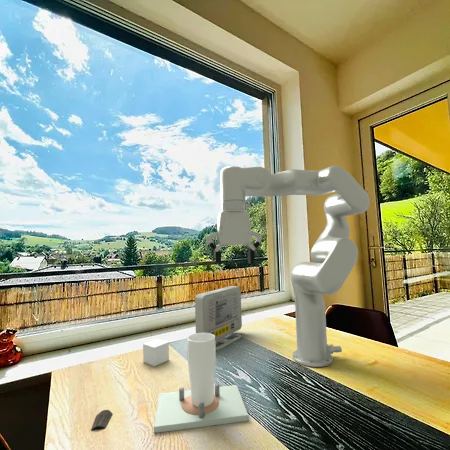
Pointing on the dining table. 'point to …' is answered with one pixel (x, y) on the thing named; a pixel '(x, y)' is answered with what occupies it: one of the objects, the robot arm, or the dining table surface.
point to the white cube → (155, 352)
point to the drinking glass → (201, 367)
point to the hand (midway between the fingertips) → (235, 264)
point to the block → (101, 420)
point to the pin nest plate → (199, 409)
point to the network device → (219, 313)
